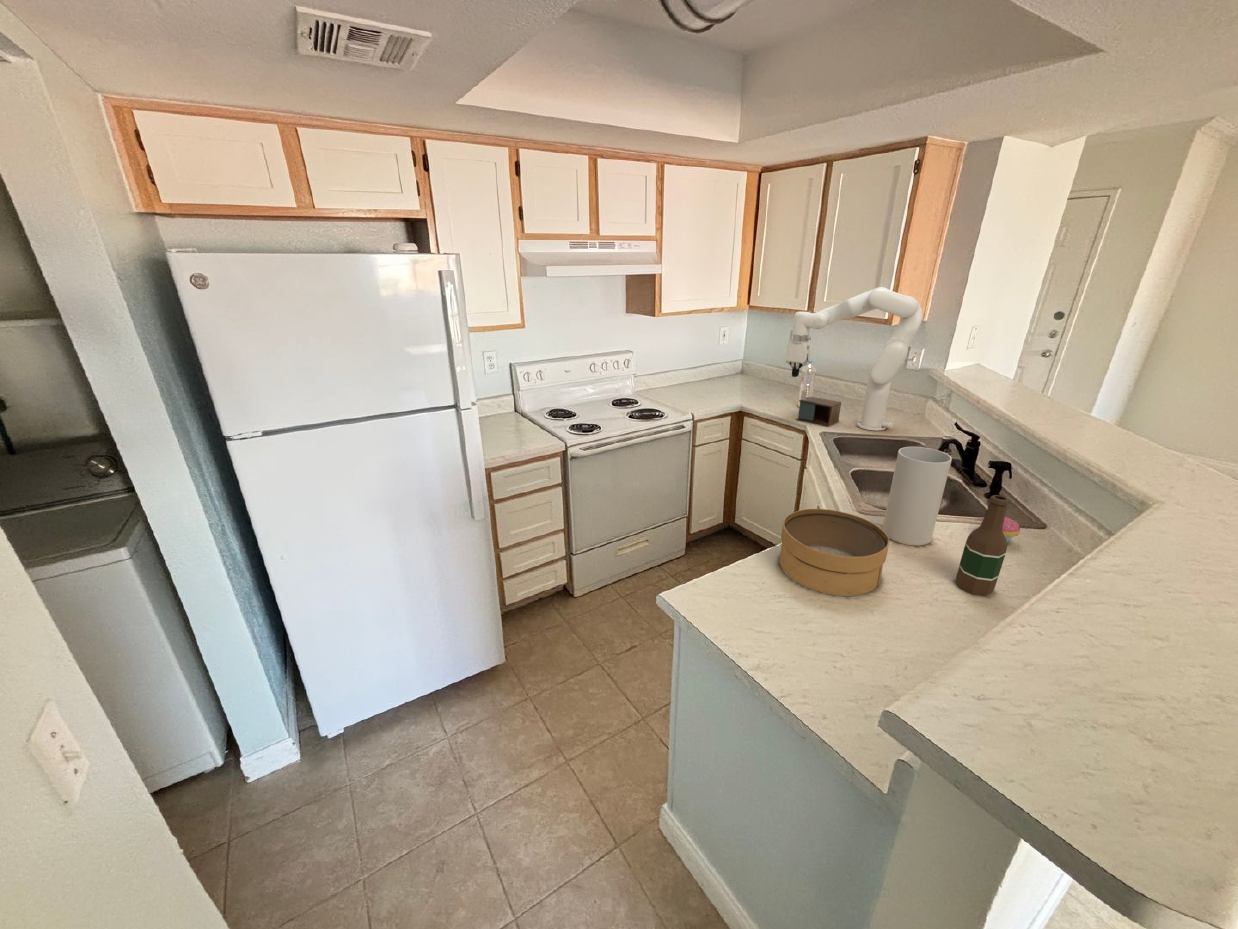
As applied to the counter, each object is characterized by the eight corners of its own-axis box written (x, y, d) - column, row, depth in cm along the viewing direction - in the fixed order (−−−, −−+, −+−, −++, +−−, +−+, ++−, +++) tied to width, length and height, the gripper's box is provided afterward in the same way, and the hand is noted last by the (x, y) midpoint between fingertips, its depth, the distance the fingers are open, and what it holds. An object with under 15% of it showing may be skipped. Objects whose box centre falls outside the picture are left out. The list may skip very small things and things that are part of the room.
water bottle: (808, 409, 270) (814, 362, 260) (795, 407, 274) (801, 361, 264) (812, 406, 275) (818, 360, 265) (800, 404, 279) (805, 359, 269)
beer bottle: (952, 588, 121) (978, 499, 112) (956, 574, 126) (981, 487, 117) (992, 601, 116) (1021, 508, 107) (994, 585, 122) (1022, 495, 113)
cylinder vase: (892, 521, 153) (909, 443, 143) (937, 536, 144) (958, 454, 134) (874, 535, 145) (890, 454, 136) (921, 552, 136) (942, 466, 127)
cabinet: (827, 426, 241) (830, 406, 237) (796, 420, 251) (799, 400, 248) (838, 421, 248) (841, 401, 245) (807, 415, 259) (810, 396, 255)
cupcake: (975, 540, 141) (986, 502, 137) (982, 529, 147) (993, 492, 143) (1012, 551, 136) (1025, 512, 131) (1018, 540, 141) (1031, 502, 137)
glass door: (812, 421, 246) (816, 393, 241) (798, 417, 252) (801, 390, 246) (813, 420, 247) (817, 393, 242) (798, 417, 252) (802, 390, 247)
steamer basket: (870, 549, 138) (878, 512, 133) (892, 605, 115) (901, 563, 111) (776, 538, 144) (781, 503, 139) (780, 589, 121) (785, 549, 117)
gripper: (818, 339, 238) (812, 377, 245) (789, 336, 248) (784, 373, 255) (811, 340, 233) (805, 380, 240) (781, 337, 243) (777, 375, 250)
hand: (794, 376), depth 247 cm, fingers closed
